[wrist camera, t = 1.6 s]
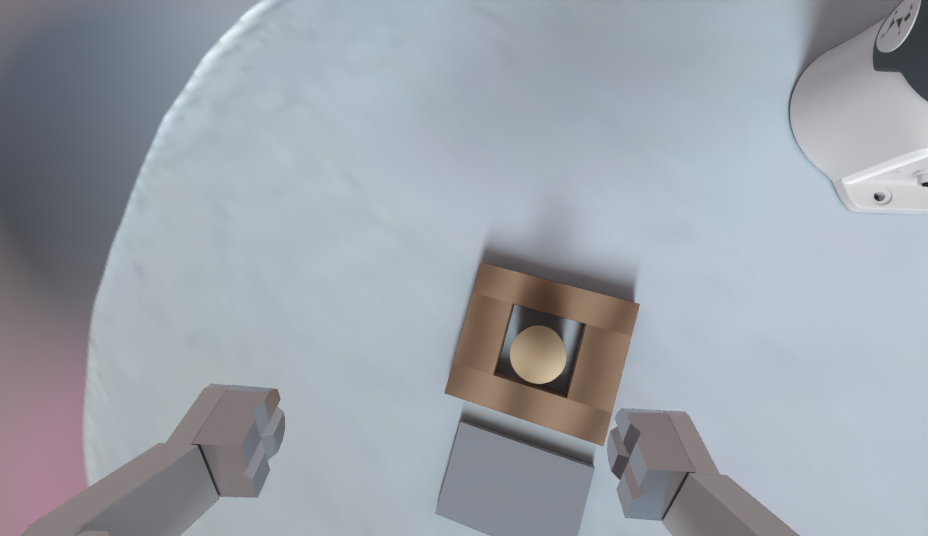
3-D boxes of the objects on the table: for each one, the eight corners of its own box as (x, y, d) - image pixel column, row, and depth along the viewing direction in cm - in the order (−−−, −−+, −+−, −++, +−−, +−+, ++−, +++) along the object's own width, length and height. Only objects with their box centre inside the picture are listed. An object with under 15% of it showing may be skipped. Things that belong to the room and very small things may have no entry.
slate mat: (593, 464, 41) (594, 468, 40) (568, 560, 40) (569, 566, 39) (462, 419, 43) (460, 421, 42) (437, 508, 43) (435, 513, 42)
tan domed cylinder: (568, 332, 42) (572, 335, 35) (556, 377, 42) (558, 391, 34) (523, 319, 43) (517, 320, 36) (511, 363, 43) (503, 373, 35)
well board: (634, 304, 42) (639, 304, 39) (600, 438, 41) (603, 446, 38) (484, 265, 45) (480, 262, 42) (450, 388, 44) (444, 393, 42)
